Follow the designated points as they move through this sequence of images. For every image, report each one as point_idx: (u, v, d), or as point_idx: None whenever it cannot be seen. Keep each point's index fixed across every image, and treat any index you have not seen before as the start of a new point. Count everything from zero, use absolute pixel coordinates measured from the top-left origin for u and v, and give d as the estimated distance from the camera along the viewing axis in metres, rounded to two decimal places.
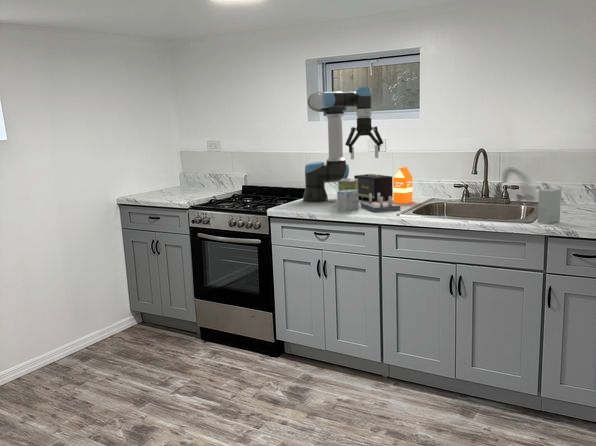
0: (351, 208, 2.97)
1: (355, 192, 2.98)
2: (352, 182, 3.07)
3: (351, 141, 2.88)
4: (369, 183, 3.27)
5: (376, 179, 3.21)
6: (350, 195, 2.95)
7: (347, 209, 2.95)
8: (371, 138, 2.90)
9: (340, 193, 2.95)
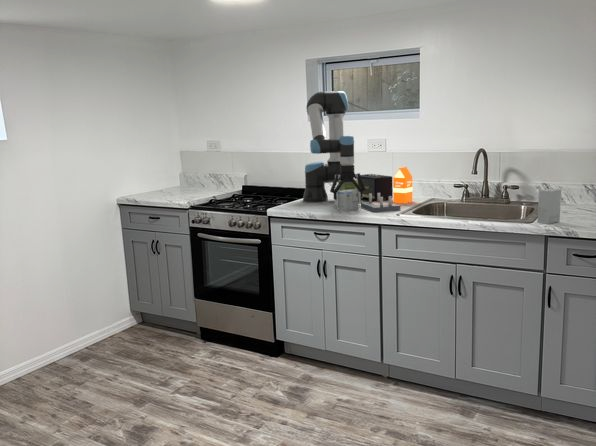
0: (351, 208, 2.97)
1: (355, 192, 2.98)
2: None
3: (335, 188, 2.97)
4: (369, 183, 3.27)
5: (376, 179, 3.21)
6: (350, 195, 2.95)
7: (347, 209, 2.95)
8: (354, 184, 3.00)
9: (340, 193, 2.95)
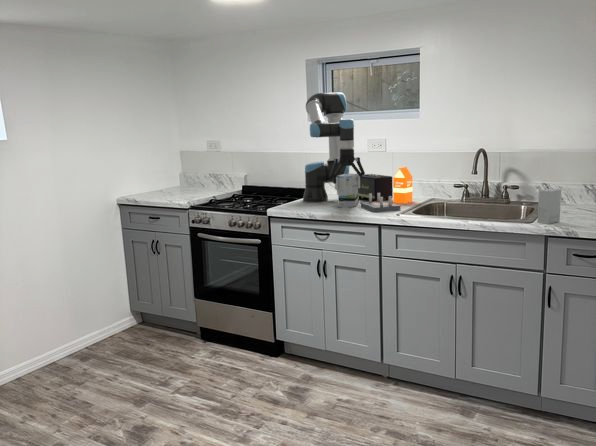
0: (351, 192, 2.96)
1: (355, 176, 2.97)
2: None
3: (335, 172, 2.96)
4: (369, 183, 3.27)
5: (376, 179, 3.21)
6: (350, 179, 2.94)
7: (347, 193, 2.94)
8: (353, 168, 2.98)
9: (340, 177, 2.94)
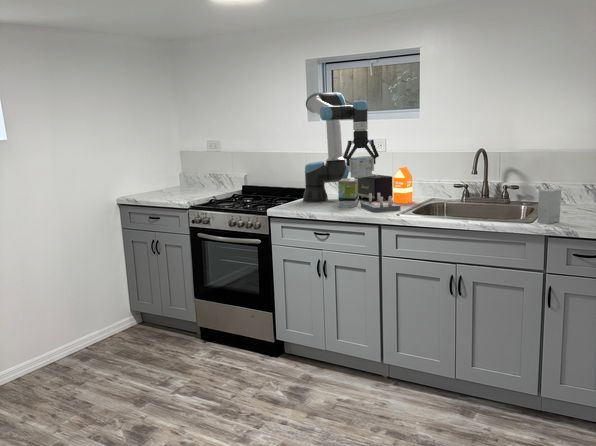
0: (364, 174, 2.94)
1: (368, 158, 2.94)
2: (352, 182, 3.07)
3: None
4: (369, 183, 3.27)
5: (376, 179, 3.21)
6: (363, 161, 2.92)
7: (360, 175, 2.91)
8: None
9: (353, 159, 2.92)
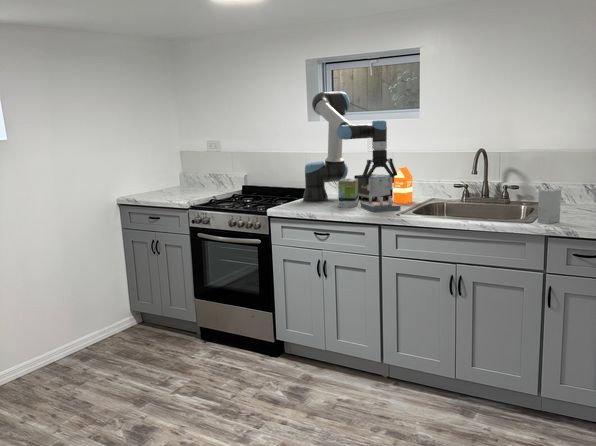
0: (383, 193, 2.96)
1: (387, 177, 2.97)
2: (352, 182, 3.07)
3: None
4: None
5: None
6: (383, 180, 2.94)
7: (380, 194, 2.94)
8: (386, 170, 2.99)
9: (372, 178, 2.94)
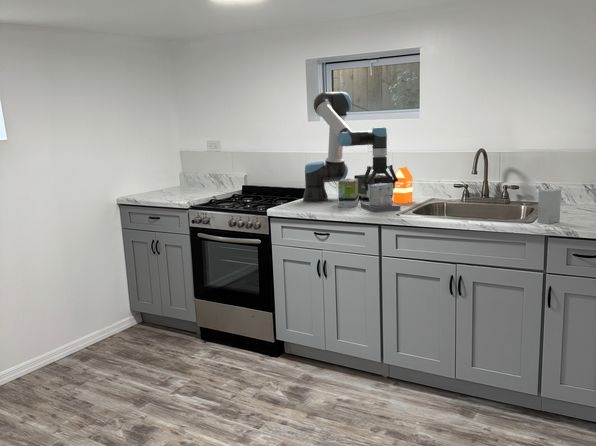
0: (383, 202, 2.97)
1: (387, 186, 2.98)
2: (352, 182, 3.07)
3: (367, 179, 2.97)
4: (369, 183, 3.27)
5: (376, 179, 3.21)
6: (382, 188, 2.95)
7: (379, 203, 2.95)
8: None
9: (372, 187, 2.95)
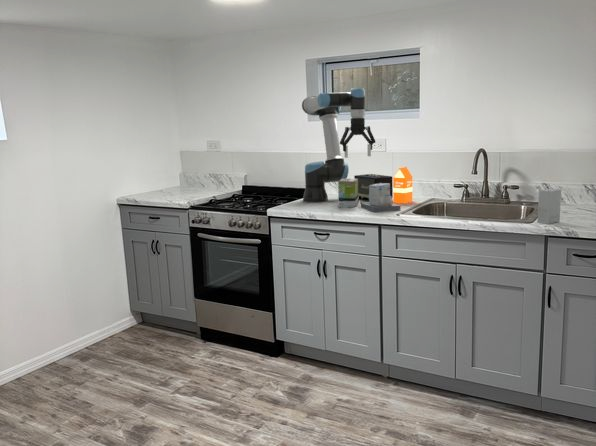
0: (383, 202, 2.97)
1: (387, 186, 2.98)
2: (352, 182, 3.07)
3: (345, 140, 3.01)
4: (369, 183, 3.27)
5: (376, 179, 3.21)
6: (382, 188, 2.95)
7: (379, 203, 2.95)
8: (364, 137, 3.04)
9: (372, 187, 2.95)
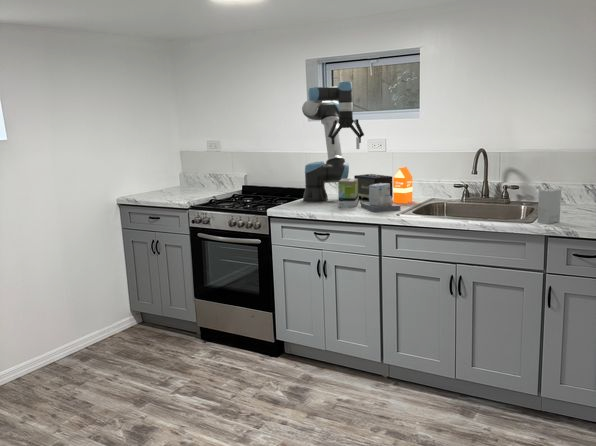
0: (383, 202, 2.97)
1: (387, 186, 2.98)
2: (352, 182, 3.07)
3: (333, 133, 3.04)
4: (369, 183, 3.27)
5: (376, 179, 3.21)
6: (382, 188, 2.95)
7: (379, 203, 2.95)
8: (353, 130, 3.07)
9: (372, 187, 2.95)
